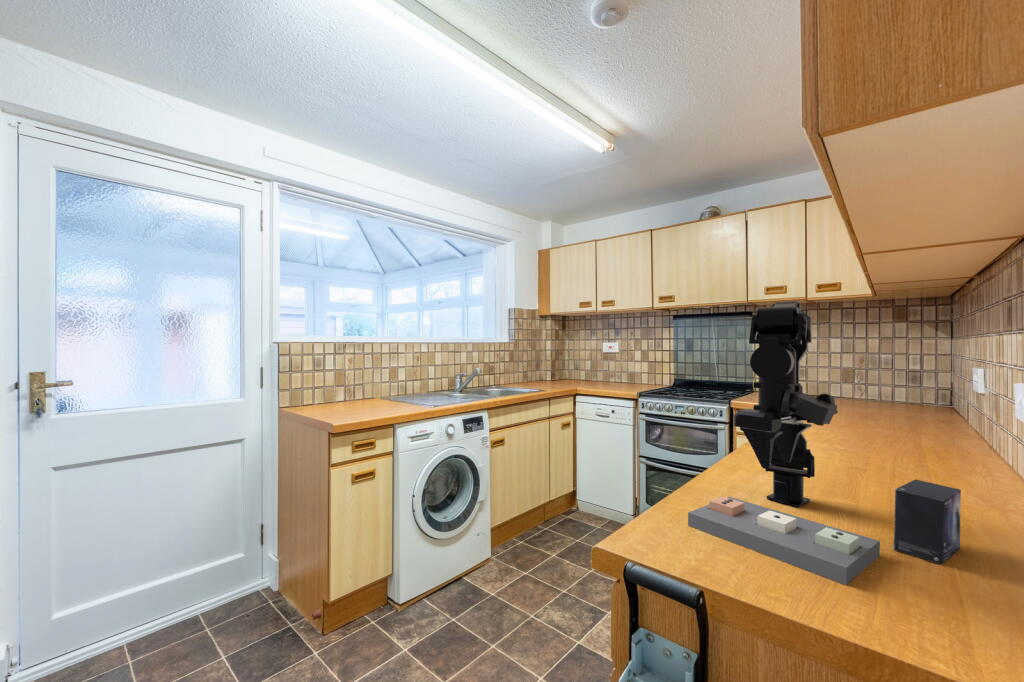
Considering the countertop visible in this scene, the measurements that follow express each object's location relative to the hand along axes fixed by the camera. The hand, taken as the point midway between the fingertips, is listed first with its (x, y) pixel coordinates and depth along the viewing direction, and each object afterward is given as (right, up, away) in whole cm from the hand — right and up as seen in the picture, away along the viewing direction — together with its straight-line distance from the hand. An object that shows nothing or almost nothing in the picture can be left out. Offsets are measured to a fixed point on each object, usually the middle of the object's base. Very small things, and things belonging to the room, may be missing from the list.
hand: (776, 465), depth 77 cm
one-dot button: (0, -12, 0) cm, 12 cm away
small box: (+23, -14, -4) cm, 27 cm away
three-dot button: (-5, -12, +7) cm, 15 cm away
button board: (0, -13, 0) cm, 13 cm away
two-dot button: (+5, -12, -7) cm, 15 cm away
